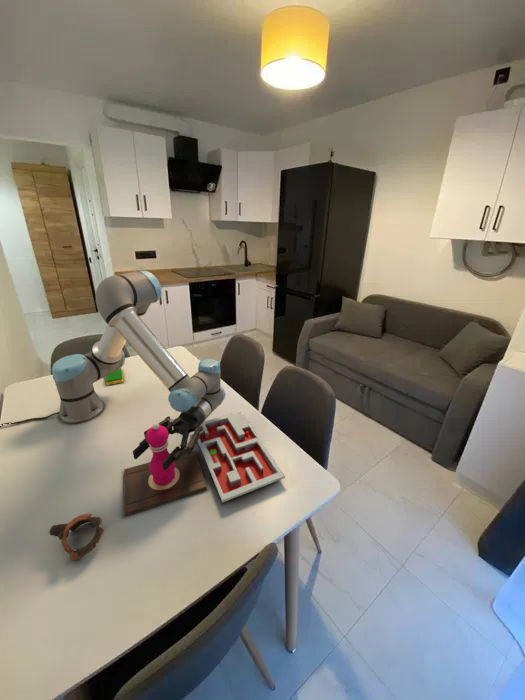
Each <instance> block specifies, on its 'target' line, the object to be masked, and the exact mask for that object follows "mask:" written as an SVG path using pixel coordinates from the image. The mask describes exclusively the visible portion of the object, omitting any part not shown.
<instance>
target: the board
mask: <svg viewBox="0 0 525 700" xmlns="http://www.w3.org/2000/svg"><path fill="white" fill-rule="evenodd" d="M150 462H151V461H150ZM150 462H149V461H148V462H146V463H141V464H139V465H134V466H132V467H127V468H124V494H123V495H124V496H123V497H124V498H123V499H124V500H123V504H124V505H123V507H124V508H123V512H124V516H125V517H126V516H129V515H132V514H135V513H138V512H142V511H144V510H147V509H150V508H153V507H156V506H160V505H164V504H166V503H169V502H172V501H175V500H178V499H182V498H184V497H187V496H190V495H194V494H196V493H200V492H203V491H206V490H207V484H206V481H205V477H204V474H203V470H202V467H201V463H200V460H199V456H198V454H197V451H196V449H194V450H193V452H192V454H188V453H185V454H183V455H182V456H181V457H180V458H179V459H178V460H177V461H175V469H174V471H175V477H174V479H173V480H172V481H171V482H170V483H169V484H166V485H162V486H160V485H157V484H155V483H154V481H153V476H152V475H151V473H150V468H149V467H150Z"/></svg>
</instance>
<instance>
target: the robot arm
mask: <svg viewBox="0 0 525 700" xmlns="http://www.w3.org/2000/svg"><path fill="white" fill-rule="evenodd" d="M160 283H161V282H159V279H158V278H157V277H156V276H155V274H154V273H152V272H150V271H148V270H135V271H132V272H131V271H130V272H125V273H121V274H117V275H110V276H108V277H105V278H104V279H103V280H101V281H100V283H99V284H98V286H97V288H96V291H95V304H96V308H97V310H98V313H99V314H100V316H101V318H102V319H103V321H104V323H106V326H105V328H104V330H103V333H102V335H101V337H100V340H98V341H96V342H95V343H93V346H92V347H91V349H90V352H88V353H85V354H82V353H73V354H71V355H66V356H63V357H61V358H59V359H58V360H56V361H55V362H54V363H53V365H52V367H51V373H52V374H51V375H52V379H53V381H54V383H55V387H56V391H57V393H58V396H59V398H60V404H59V411H57V412H53V413H51V414H49V415H47V416H43V417H32V418H28V419H27V418H26V419H22V420H19V421H10V422H4V423H1V424H0V425H2V426H0V428H2V427H3V426H5V425H3V424H7V425H6V426H8V425H17V424H23V423H26V422H30V421H37V420H38V421H39V420H40V421H41V420H45V419H46V420H47V419H49V418H51V417H54V416H56V415H59V418H60V420H61V422H64V423H67V424H79V423H84V422H87V421H89V420H92V419H94V418H96V417H97V416H98V415H100V414H101V412H103V410H104V407H105V405H104V402H103V400H102V399H101V397H100V396H99V395H98V394H97V392H96V391H95V388H94V387H95V386H94V384H95V383H96V382H99V380H102V379H103V378H106V376H107V375H109V374H111V373H113V372H116V371H117V370H119V369H120V368H121V369H122V367H123V366H124V365H125V363H126V357H125V355H126V354H125V352H124V351H123V348H124V346H125V344H126V343H127V344H129V346H130V347H131V348H132V349H133V350H134V352H135V353H136V354H137V355H138V356H139V358H140V359H141V360H142V361H143V362H144V364H146V366H147V367H148V368H149V369H150V370H151V372H152V373H153V374H154V375H155V376H156V378H157V379H158V380H159V381H160V382H161V383H162V384H163V385H164V387H165V388H166V389H167V390H168V392H169V394H168V396H167V401H168V402H169V405H170V407H171V408H172V410H174V411H176V412H178V413H180V414H179V416H178V417H176V418H171V416H169V415H167V416H166V417H165V418H164V419H163V420H161V421H160V422H157V423H158V424H159V425H161V426H164V427H165V428H166V429H167V430H168V433H169V435H174V434H179V435H181V436H182V437H181V442H180V444H179V446H178V445H176V447H175V448H173V450H172V451H171V452H169V453H170V454H169V455H168V456H167V457H166V458H165V460H164V461H163V462H162V465H163V470H166V469H167V468H168V467H169V466H170V465H171V464H172V463H173V462H174V461H177V460H178V459H179V458H180V457H181V456H182V455H183V454H185V453H188V454H192V452H193V450H195V448H196V446H197V445H198V439H199V437H200V436H201V435H202V434H203V426H200V425H201V424H202V423H203V422H204V421H207V419H208V418H209V417H210V415H212V413H213V412H214V411H216V409H217V408H219V406H220V405H221V404H223V402H224V400H225V398H226V392H225V389H224V387H223V386H222V385H221V373H222V371H221V363H220V362H219V361H218V360H216V359H213V358H205V359H202V360H201V361H199V362H198V367H197V372H195V374H193V375H191V376H189V375H188V373H187V372H186V371H185V370H184V368H182V366H181V365H180V364H179V363H178V362H177V360H176V359H175V358H174V356H173V355H172V354H171V353H170V352H169V351H168V350H167V348H166V347H165V346H164V345H163V344H162V342H161V341H160V340H159V339H158V337H157V336H156V335H155V334H154V333H153V331H152V330H151V329H150V328H149V327H148V326H147V324H146V323H145V322H144V321H143V319H142V318H141V317H143V316H145V314H147V312H148V310H149V308H150V306H151V304H155V303H157V302H158V301H160V299H161V298H162V287H161V284H160ZM12 422H14V423H12ZM9 423H11V424H9ZM199 426H200V427H199ZM149 429H150V428H148V429H146V430H145V431H144V432H143V435H144V438H143V439H142V440H141V441H140V442H139V443H138V446H137V447H135V448H134V449H133V450H132V456H133V459H134V460H137V459H139V457H141V456H142V455H143V454H144V453H145V452H146V451H147V450H148V449H150V446H149V444H148V443H147V441H146V434H147V431H148V430H149ZM194 431H195V432H194ZM191 433H193V434H192V436H191V438H190V440H189V437H190V434H191ZM188 440H189V442H188Z"/></svg>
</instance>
